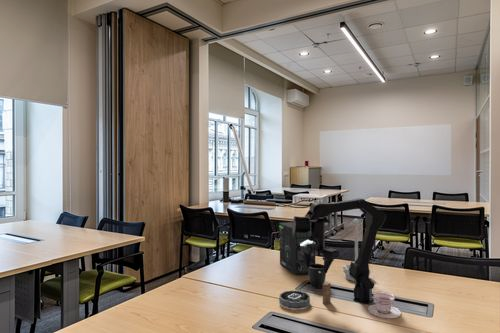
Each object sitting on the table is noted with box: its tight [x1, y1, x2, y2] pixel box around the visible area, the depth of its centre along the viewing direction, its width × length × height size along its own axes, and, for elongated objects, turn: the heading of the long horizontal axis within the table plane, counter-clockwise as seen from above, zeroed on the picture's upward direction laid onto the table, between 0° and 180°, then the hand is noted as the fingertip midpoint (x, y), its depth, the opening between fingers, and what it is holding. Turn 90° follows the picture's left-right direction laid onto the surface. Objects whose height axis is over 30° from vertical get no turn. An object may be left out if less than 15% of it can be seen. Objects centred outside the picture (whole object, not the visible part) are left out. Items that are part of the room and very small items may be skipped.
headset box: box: [278, 221, 317, 276], centre depth 187 cm, size 22×12×26 cm, turn 17°
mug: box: [307, 263, 327, 289], centre depth 158 cm, size 8×12×10 cm
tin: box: [278, 290, 311, 311], centre depth 140 cm, size 12×12×3 cm
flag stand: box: [342, 218, 371, 282], centre depth 170 cm, size 13×13×30 cm
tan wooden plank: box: [322, 281, 331, 305], centre depth 141 cm, size 2×3×8 cm, turn 140°
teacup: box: [367, 291, 402, 319], centre depth 132 cm, size 12×12×6 cm
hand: (316, 270), depth 141 cm, fingers open, 9 cm apart
